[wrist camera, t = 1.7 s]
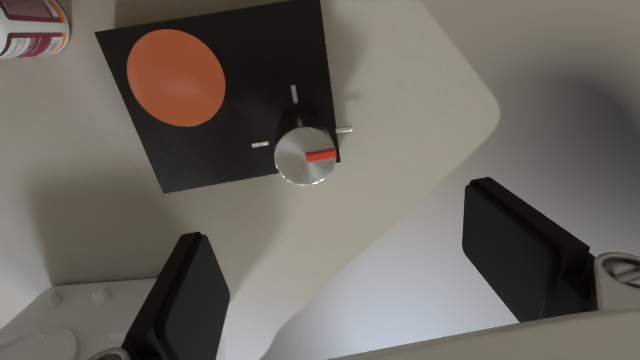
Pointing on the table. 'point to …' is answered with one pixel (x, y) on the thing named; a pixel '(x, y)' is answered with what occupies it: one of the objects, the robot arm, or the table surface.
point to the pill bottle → (32, 28)
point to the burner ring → (176, 77)
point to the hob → (235, 91)
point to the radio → (78, 321)
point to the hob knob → (304, 149)
